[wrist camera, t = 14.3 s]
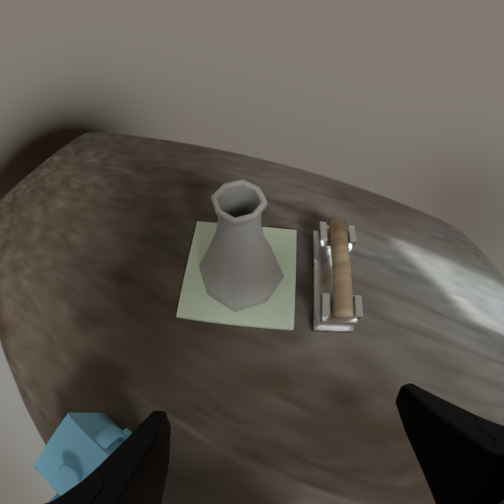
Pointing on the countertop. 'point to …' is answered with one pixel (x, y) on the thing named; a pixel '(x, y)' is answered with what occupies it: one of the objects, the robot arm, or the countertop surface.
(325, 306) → the cradle
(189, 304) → the pad
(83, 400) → the countertop surface
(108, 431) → the teapot
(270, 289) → the flask
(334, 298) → the rod
